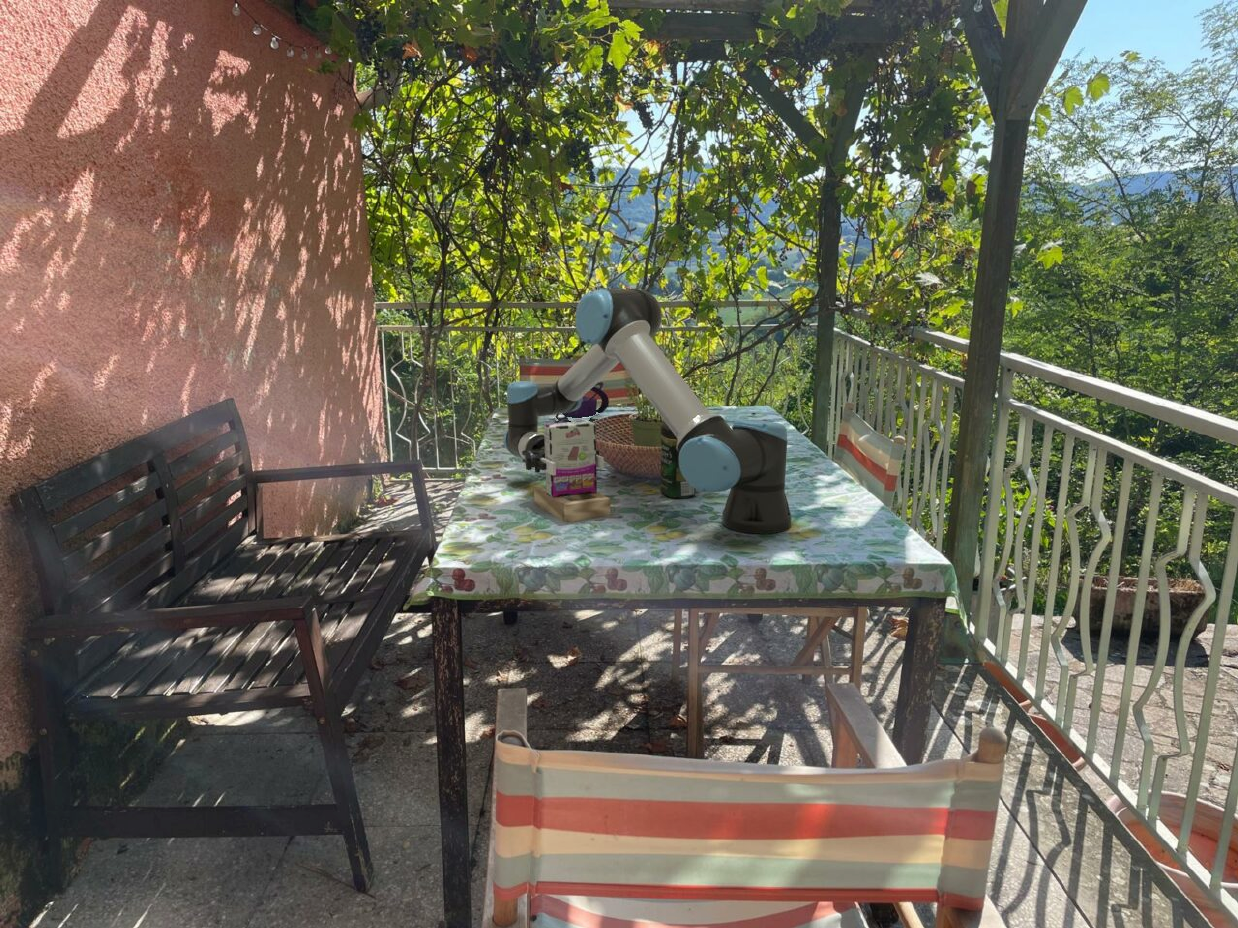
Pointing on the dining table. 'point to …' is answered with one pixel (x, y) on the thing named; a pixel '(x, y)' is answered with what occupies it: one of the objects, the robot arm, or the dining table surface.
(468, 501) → the dining table surface
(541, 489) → the frame
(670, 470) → the coffee jar
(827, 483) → the dining table surface
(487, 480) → the dining table surface
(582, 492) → the candy bar box
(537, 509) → the mat
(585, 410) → the purple handbag
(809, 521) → the dining table surface
